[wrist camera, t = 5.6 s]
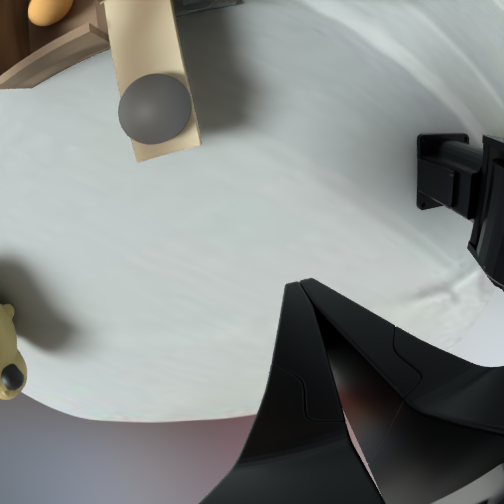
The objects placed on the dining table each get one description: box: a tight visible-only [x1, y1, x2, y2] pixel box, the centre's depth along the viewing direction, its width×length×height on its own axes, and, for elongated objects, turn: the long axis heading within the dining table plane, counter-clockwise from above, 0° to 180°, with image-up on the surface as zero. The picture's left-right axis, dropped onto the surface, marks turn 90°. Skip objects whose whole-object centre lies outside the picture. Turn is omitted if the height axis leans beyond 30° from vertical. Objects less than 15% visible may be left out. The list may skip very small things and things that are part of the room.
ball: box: [28, 0, 73, 26], centre depth 9 cm, size 3×3×3 cm
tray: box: [0, 0, 111, 89], centre depth 8 cm, size 7×10×4 cm
